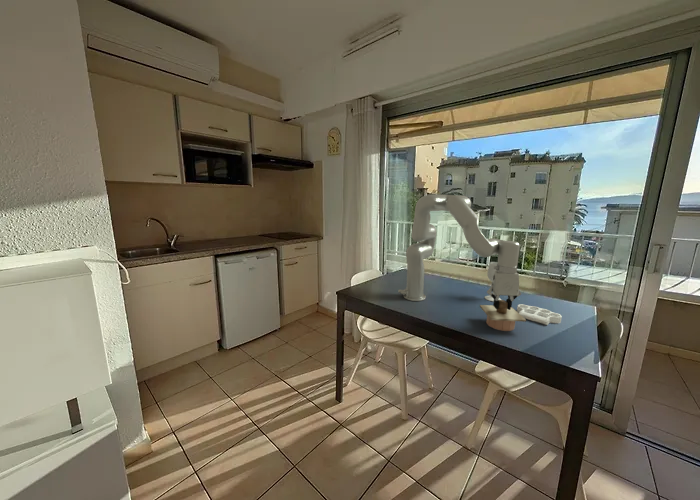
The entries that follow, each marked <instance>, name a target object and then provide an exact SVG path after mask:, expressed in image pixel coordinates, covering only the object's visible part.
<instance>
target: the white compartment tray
mask: <svg viewBox="0 0 700 500" xmlns="http://www.w3.org/2000/svg"><path fill="white" fill-rule="evenodd" d="M516 306H517V308H516V311H517V312H518V313H519V314H520V315H521V316H522V317H523V318H525V319H526V320H529V321H532V322H534V323H535V322H536V323H538V324H542V325H544V326H548V325H549V324H551V323H552V324H561V323H562V317H563V316H562V315H561V314H560V313H556V312H553V311H551V310H549V309H546V308H541V307H538V306H534V305H532V306H531V305H526V304H521V303H520V304H517V305H516Z"/></svg>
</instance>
